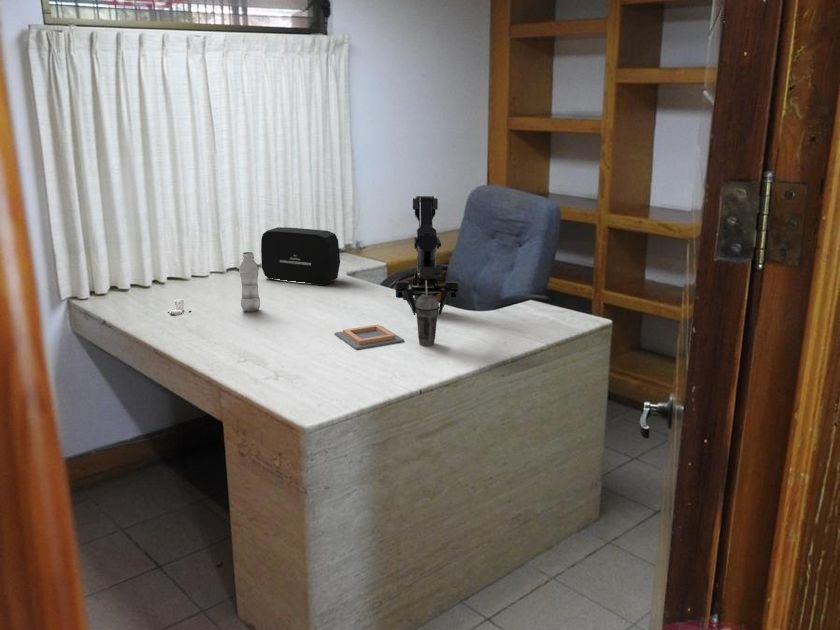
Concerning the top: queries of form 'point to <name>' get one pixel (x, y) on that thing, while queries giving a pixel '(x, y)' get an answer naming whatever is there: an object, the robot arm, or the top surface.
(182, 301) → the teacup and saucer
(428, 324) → the beverage cup
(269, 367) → the top surface
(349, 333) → the cup dock
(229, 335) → the top surface
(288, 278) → the black hard case
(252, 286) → the plastic bottle
